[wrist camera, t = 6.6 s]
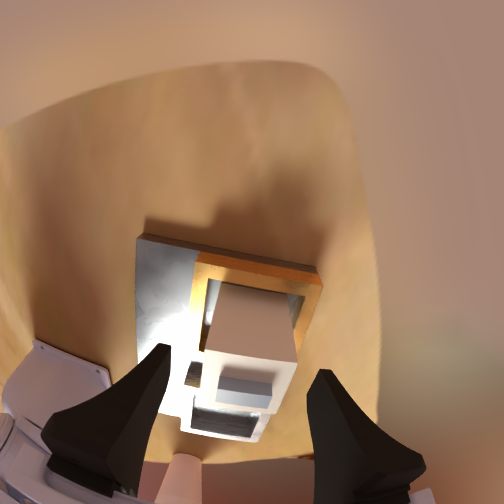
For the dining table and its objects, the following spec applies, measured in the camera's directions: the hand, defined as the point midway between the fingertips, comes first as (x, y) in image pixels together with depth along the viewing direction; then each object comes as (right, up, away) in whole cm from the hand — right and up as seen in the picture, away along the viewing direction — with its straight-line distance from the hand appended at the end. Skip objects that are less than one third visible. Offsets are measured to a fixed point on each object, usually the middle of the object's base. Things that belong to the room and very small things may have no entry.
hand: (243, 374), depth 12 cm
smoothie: (-8, -21, +15) cm, 27 cm away
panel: (-3, -2, +8) cm, 8 cm away
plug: (0, +2, +5) cm, 5 cm away
